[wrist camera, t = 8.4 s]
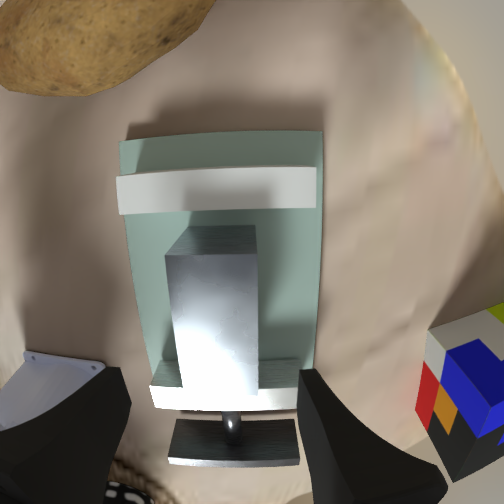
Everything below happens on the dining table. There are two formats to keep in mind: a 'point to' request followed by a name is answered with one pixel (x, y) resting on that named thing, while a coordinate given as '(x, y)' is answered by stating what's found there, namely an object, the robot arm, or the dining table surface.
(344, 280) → the dining table surface
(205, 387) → the steel block
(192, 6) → the potato
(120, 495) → the white-spotted black cylinder
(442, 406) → the puzzle toy
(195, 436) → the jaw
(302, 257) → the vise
